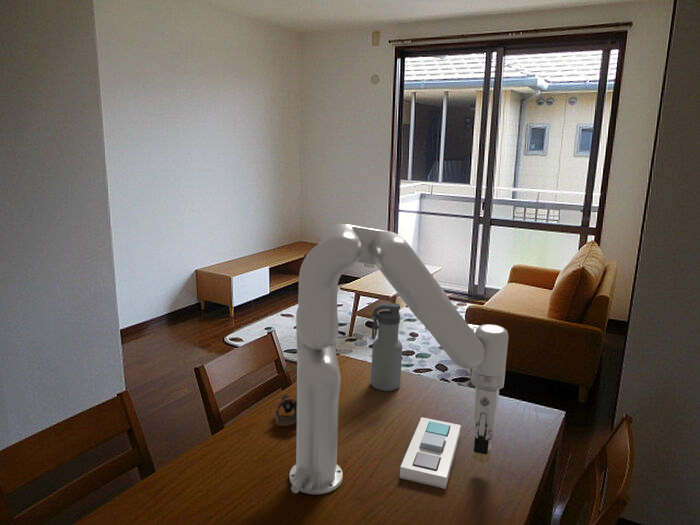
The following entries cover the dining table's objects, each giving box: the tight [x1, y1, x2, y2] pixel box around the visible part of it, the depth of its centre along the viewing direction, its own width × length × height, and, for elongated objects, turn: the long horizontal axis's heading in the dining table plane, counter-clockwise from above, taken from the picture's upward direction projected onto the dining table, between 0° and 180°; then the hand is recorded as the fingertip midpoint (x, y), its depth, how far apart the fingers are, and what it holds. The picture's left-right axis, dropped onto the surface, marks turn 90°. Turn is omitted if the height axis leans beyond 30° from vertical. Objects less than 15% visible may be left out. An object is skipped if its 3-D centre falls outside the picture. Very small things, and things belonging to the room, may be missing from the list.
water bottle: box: [370, 302, 403, 392], centre depth 169 cm, size 10×10×28 cm
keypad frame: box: [399, 416, 462, 490], centre depth 133 cm, size 25×11×3 cm, turn 161°
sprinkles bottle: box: [471, 414, 494, 464], centre depth 125 cm, size 5×5×13 cm
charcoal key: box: [414, 452, 440, 471], centre depth 126 cm, size 5×5×2 cm
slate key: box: [420, 432, 445, 453], centre depth 133 cm, size 5×5×2 cm
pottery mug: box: [274, 393, 297, 427], centre depth 147 cm, size 12×10×8 cm
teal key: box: [426, 421, 450, 437], centre depth 141 cm, size 5×5×2 cm
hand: (481, 446), depth 126 cm, fingers closed on sprinkles bottle, 4 cm apart
